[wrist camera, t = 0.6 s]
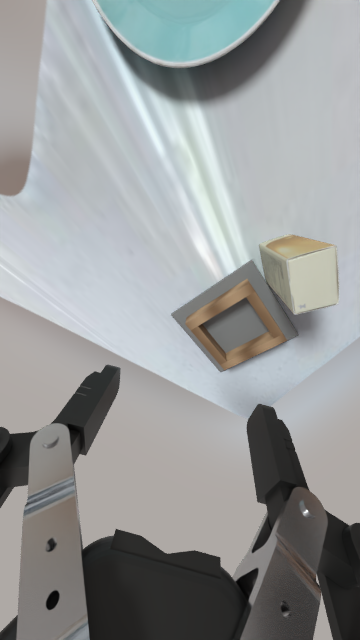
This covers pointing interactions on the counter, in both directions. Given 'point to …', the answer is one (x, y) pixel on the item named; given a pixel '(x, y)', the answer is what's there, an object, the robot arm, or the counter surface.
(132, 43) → the plate
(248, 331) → the mat
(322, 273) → the skincare box
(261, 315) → the collar
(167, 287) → the counter surface
